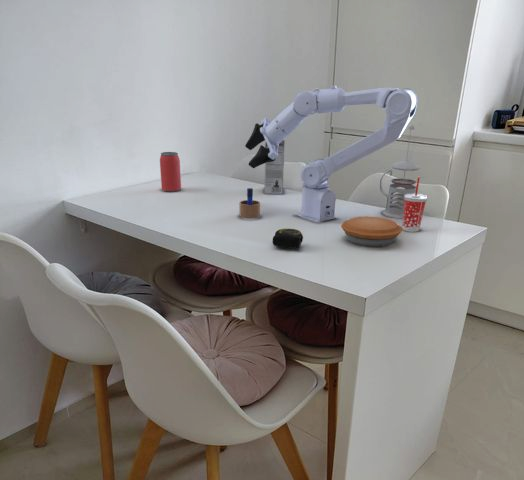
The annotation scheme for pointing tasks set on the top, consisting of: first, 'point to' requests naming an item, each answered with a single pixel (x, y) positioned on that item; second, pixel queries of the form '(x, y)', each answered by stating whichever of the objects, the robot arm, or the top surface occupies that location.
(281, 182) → the coffee box
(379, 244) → the pie
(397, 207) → the french press
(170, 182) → the beer can
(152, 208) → the top surface
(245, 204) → the brown wooden bowl
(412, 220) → the beverage cup
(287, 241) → the tape measure
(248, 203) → the marker
